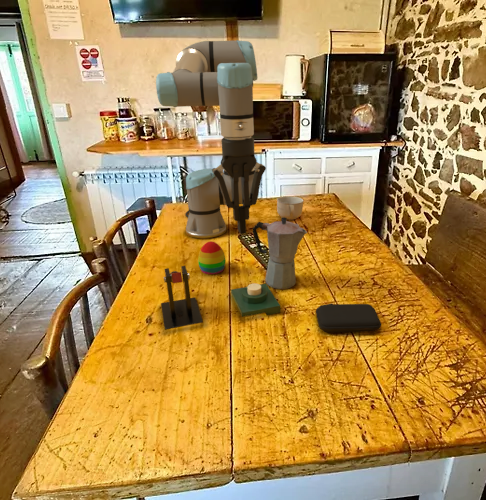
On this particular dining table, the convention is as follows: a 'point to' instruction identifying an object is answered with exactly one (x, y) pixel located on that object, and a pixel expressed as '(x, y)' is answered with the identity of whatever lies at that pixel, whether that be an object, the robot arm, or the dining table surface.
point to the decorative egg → (211, 258)
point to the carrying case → (347, 318)
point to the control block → (255, 301)
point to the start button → (254, 289)
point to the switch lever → (176, 277)
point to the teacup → (289, 207)
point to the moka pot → (280, 251)
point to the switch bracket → (180, 305)
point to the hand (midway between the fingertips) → (242, 231)
